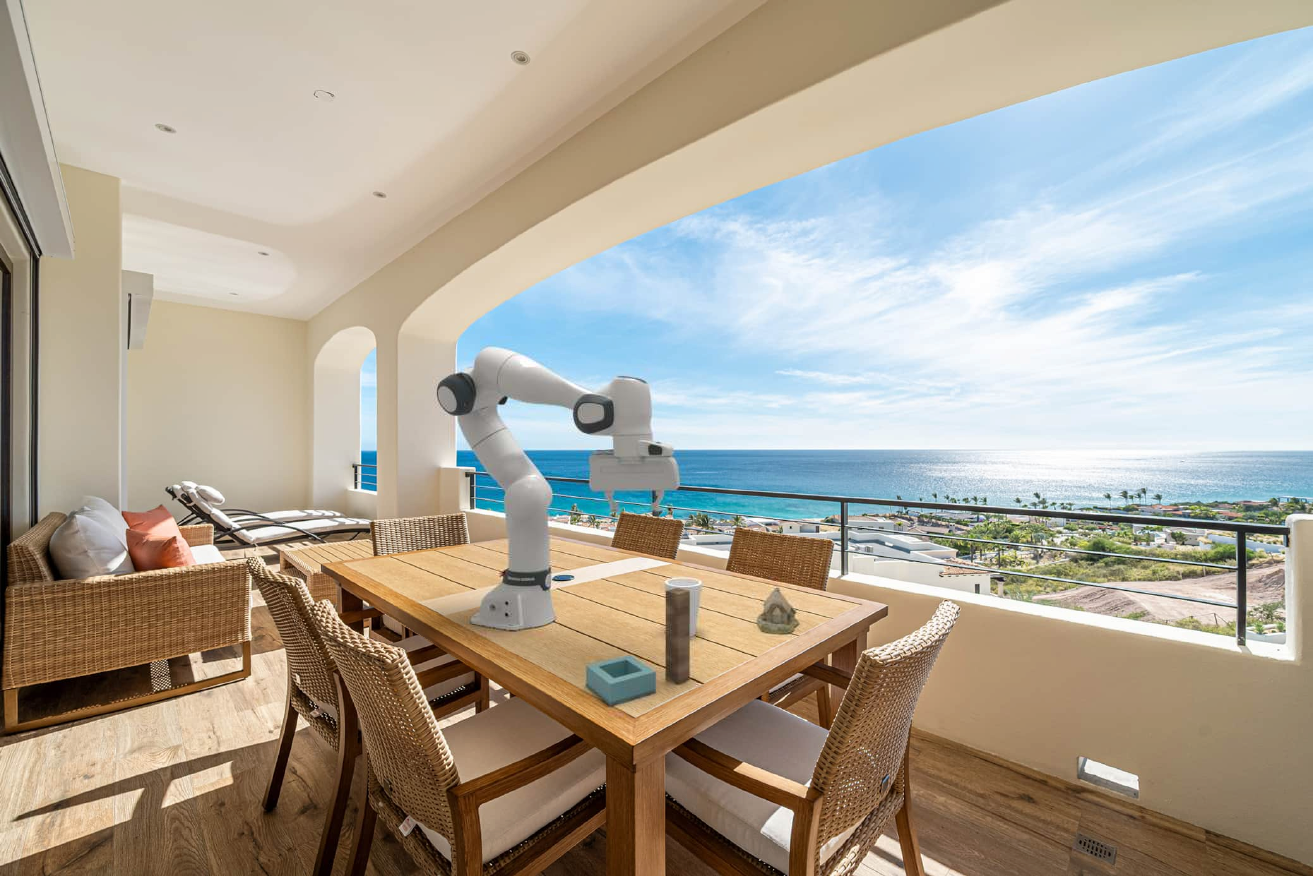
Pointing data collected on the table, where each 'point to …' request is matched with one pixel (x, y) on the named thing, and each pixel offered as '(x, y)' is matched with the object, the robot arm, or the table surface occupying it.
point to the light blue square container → (620, 679)
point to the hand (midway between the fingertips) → (634, 511)
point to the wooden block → (677, 636)
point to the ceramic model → (777, 615)
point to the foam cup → (695, 593)
